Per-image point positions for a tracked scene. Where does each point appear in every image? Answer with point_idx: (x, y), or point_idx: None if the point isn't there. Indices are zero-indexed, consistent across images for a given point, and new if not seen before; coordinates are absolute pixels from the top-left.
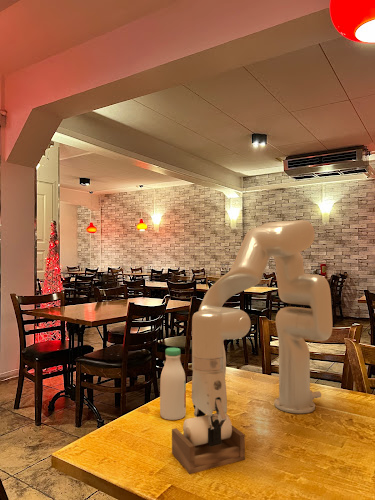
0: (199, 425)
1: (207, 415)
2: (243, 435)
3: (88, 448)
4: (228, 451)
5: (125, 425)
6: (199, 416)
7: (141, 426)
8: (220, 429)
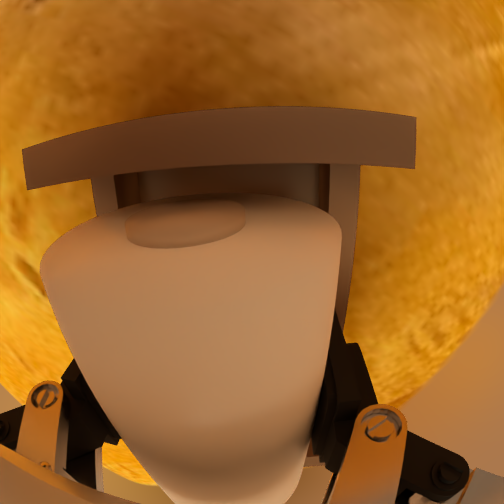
0: (279, 495)
1: (170, 473)
2: (411, 130)
3: (114, 461)
4: (353, 240)
5: (10, 379)
6: (102, 436)
7: (6, 357)
8: (355, 384)
